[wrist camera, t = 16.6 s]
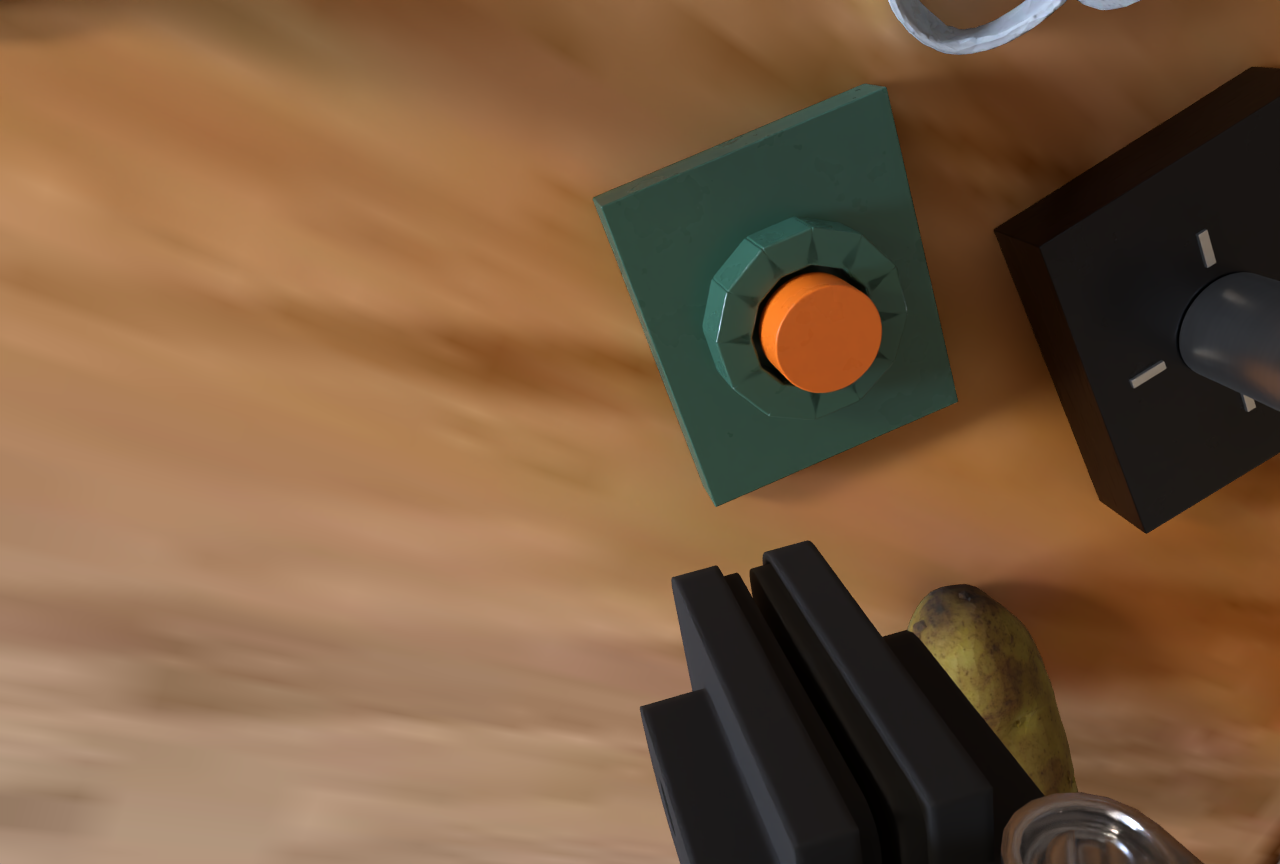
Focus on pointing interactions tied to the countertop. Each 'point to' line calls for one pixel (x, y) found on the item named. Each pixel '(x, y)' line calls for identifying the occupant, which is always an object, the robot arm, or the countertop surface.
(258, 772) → the countertop surface
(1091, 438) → the hob console
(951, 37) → the ceramic mug
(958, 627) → the potato
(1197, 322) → the knob
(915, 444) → the countertop surface
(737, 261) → the block
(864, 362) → the button
